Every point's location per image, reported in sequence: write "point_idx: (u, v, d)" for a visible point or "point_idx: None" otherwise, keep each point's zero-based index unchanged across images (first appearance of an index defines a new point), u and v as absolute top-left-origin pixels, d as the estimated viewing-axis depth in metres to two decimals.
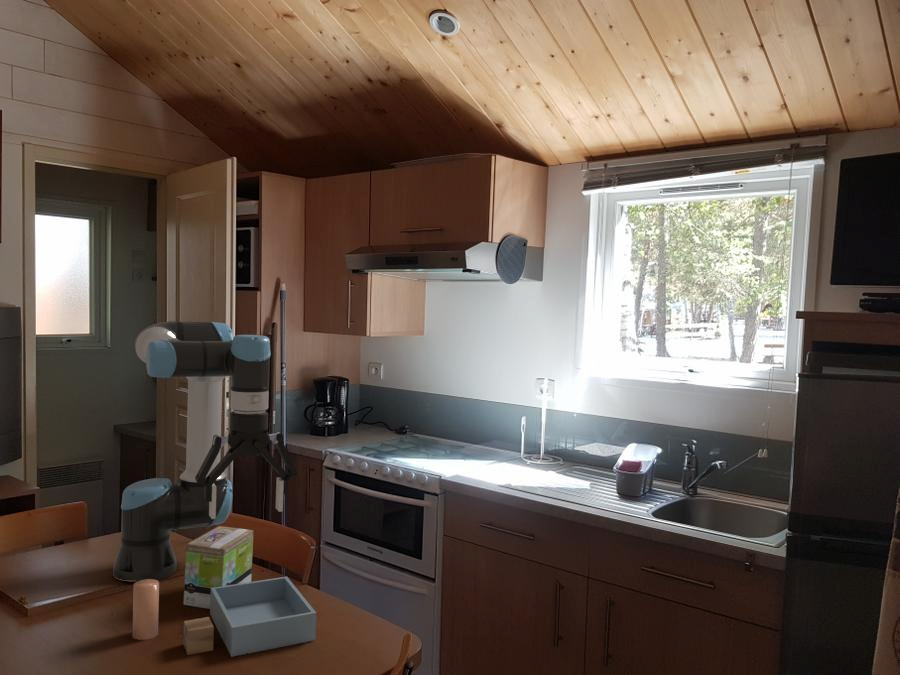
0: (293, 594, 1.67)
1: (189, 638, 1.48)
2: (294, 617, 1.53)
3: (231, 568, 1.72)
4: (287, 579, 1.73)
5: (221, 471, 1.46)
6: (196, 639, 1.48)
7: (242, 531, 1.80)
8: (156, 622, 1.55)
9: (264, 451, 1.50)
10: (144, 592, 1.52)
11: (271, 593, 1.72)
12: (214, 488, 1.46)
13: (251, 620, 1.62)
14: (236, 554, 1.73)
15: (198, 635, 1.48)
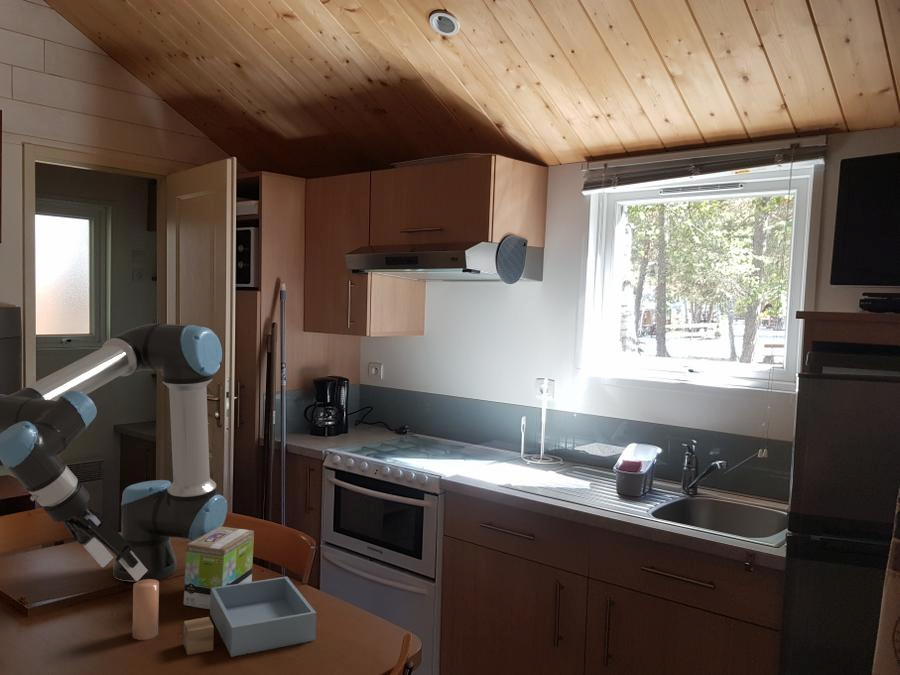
0: (293, 594, 1.67)
1: (189, 638, 1.47)
2: (294, 617, 1.53)
3: (232, 568, 1.71)
4: (287, 579, 1.73)
5: (78, 536, 1.47)
6: (196, 639, 1.48)
7: (243, 532, 1.79)
8: (156, 622, 1.55)
9: (86, 533, 1.40)
10: (144, 592, 1.52)
11: (271, 593, 1.72)
12: (84, 547, 1.49)
13: (251, 620, 1.62)
14: (236, 554, 1.73)
15: (198, 635, 1.48)
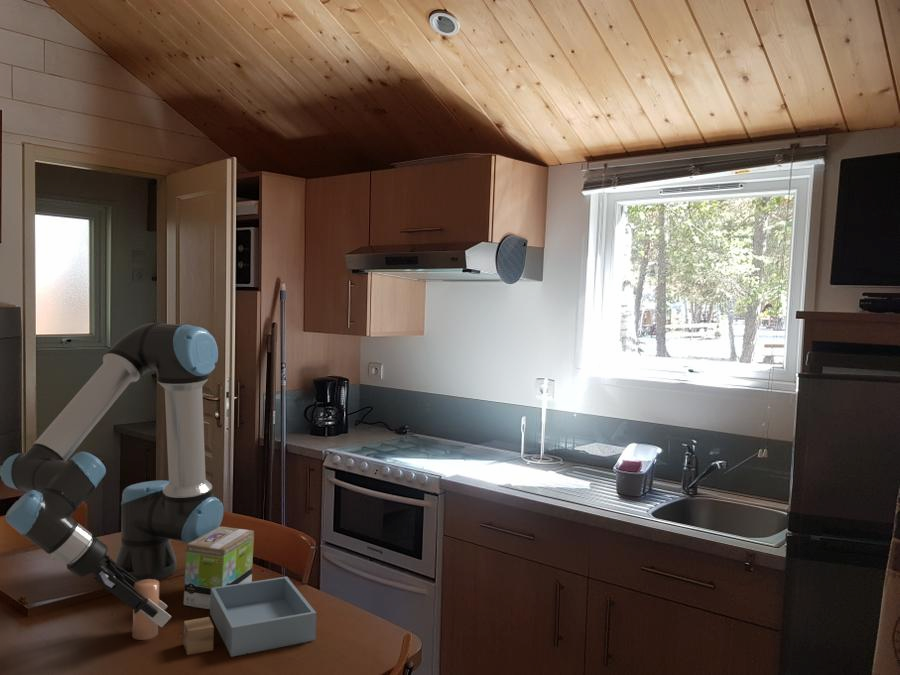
0: (293, 594, 1.67)
1: (189, 638, 1.48)
2: (294, 617, 1.53)
3: (232, 568, 1.71)
4: (287, 579, 1.73)
5: None
6: (196, 639, 1.48)
7: (243, 532, 1.79)
8: None
9: None
10: (145, 592, 1.52)
11: (271, 593, 1.72)
12: None
13: (251, 620, 1.62)
14: (236, 554, 1.73)
15: (198, 635, 1.48)
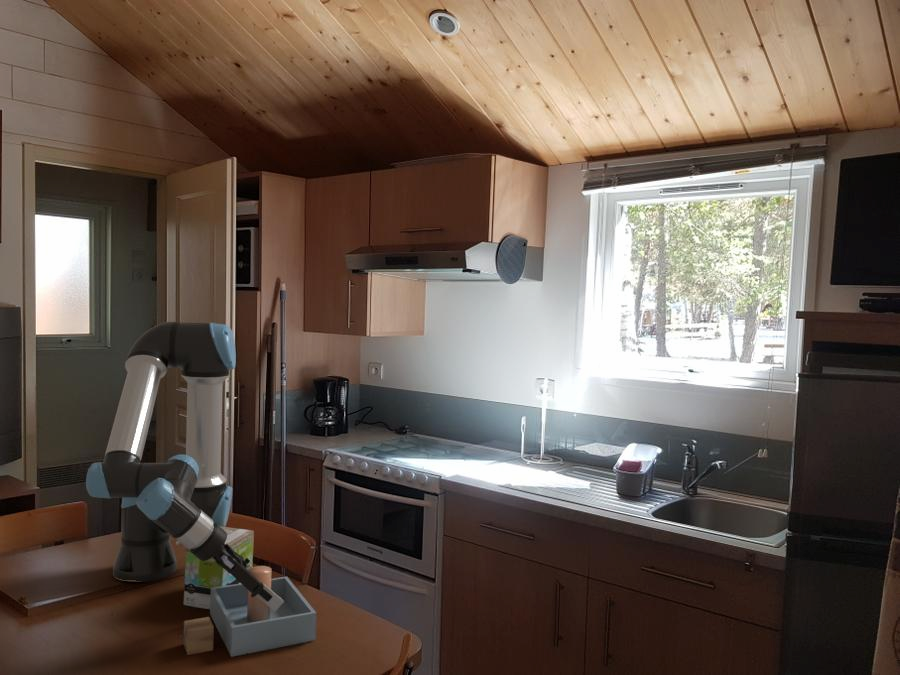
0: (293, 594, 1.67)
1: (189, 638, 1.48)
2: (294, 617, 1.53)
3: None
4: (287, 579, 1.73)
5: None
6: (196, 639, 1.48)
7: (242, 532, 1.79)
8: None
9: (226, 570, 1.56)
10: (260, 578, 1.60)
11: None
12: None
13: None
14: None
15: (198, 635, 1.48)
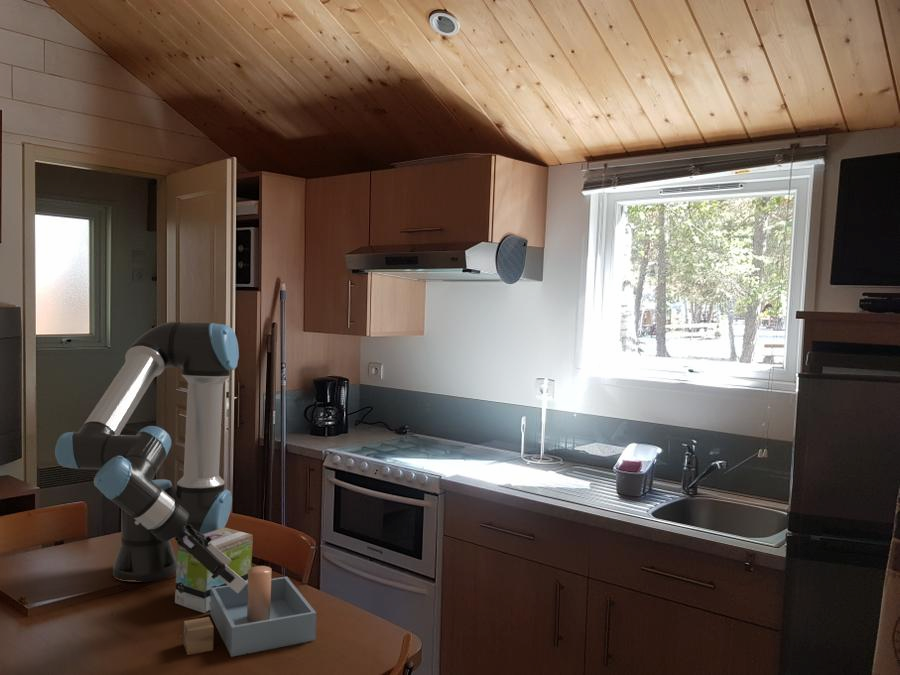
0: (293, 594, 1.67)
1: (189, 638, 1.48)
2: (294, 617, 1.53)
3: None
4: (287, 579, 1.73)
5: None
6: (196, 639, 1.48)
7: (240, 535, 1.77)
8: (269, 606, 1.62)
9: None
10: (260, 578, 1.60)
11: (271, 593, 1.72)
12: None
13: None
14: None
15: (198, 635, 1.48)
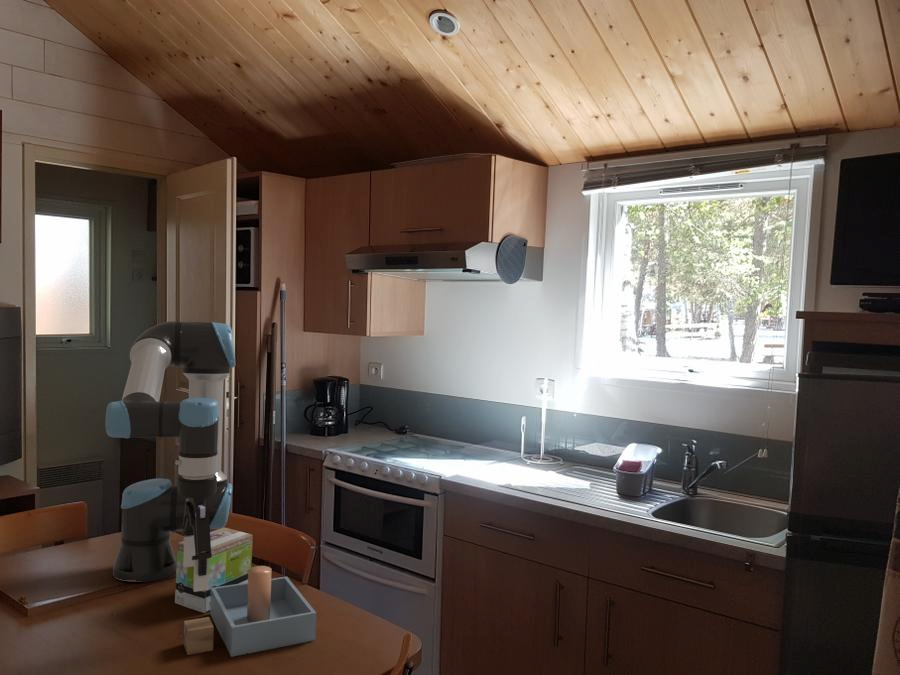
0: (293, 594, 1.67)
1: (189, 638, 1.48)
2: (294, 617, 1.53)
3: (220, 571, 1.69)
4: (287, 579, 1.73)
5: (186, 524, 1.53)
6: (196, 639, 1.48)
7: (240, 535, 1.77)
8: (269, 606, 1.62)
9: (190, 519, 1.46)
10: (260, 578, 1.60)
11: (271, 593, 1.72)
12: (184, 538, 1.55)
13: None
14: (226, 557, 1.71)
15: (198, 635, 1.48)
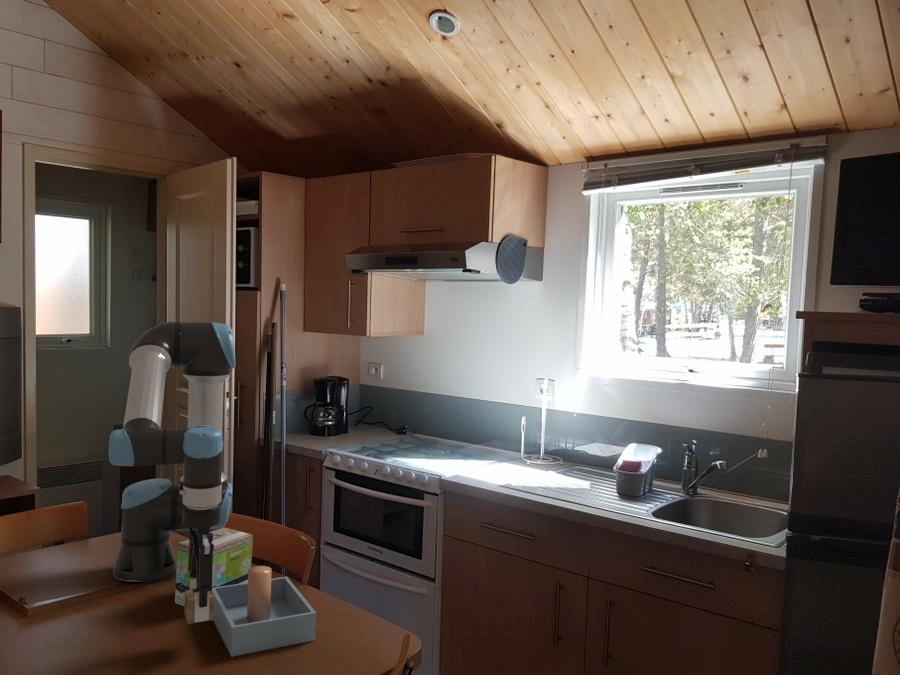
0: (293, 594, 1.67)
1: (189, 607, 1.48)
2: (294, 617, 1.53)
3: (220, 571, 1.69)
4: (287, 579, 1.73)
5: (191, 562, 1.52)
6: None
7: (240, 535, 1.77)
8: (269, 606, 1.62)
9: (193, 550, 1.47)
10: (260, 578, 1.60)
11: (271, 593, 1.72)
12: (190, 581, 1.52)
13: None
14: (227, 557, 1.71)
15: None
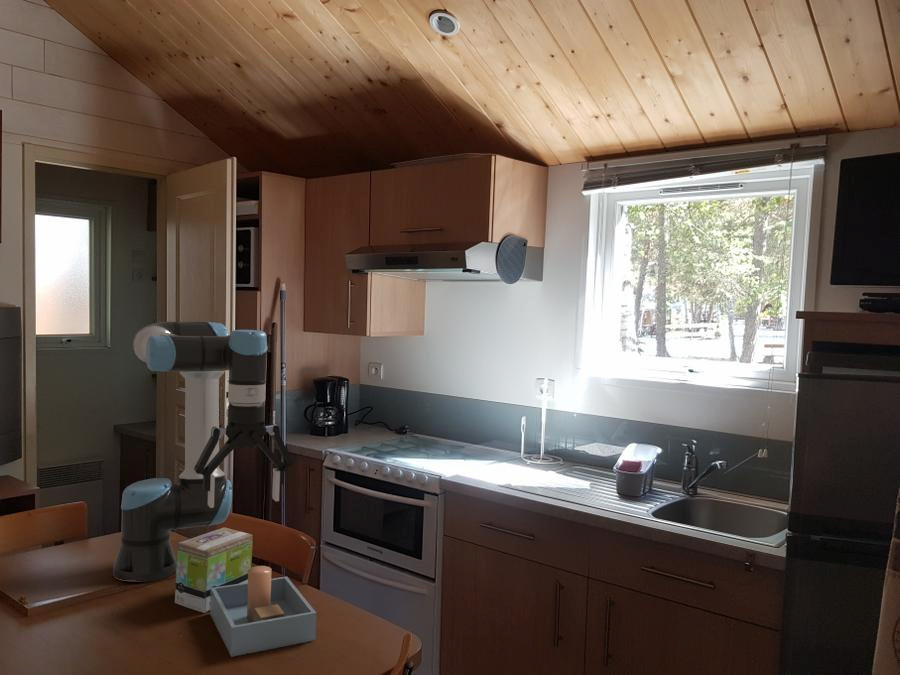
0: (293, 594, 1.67)
1: None
2: (294, 617, 1.53)
3: (220, 571, 1.69)
4: (287, 579, 1.73)
5: (219, 461, 1.51)
6: None
7: (240, 535, 1.77)
8: None
9: (261, 442, 1.55)
10: (260, 578, 1.60)
11: (271, 593, 1.72)
12: (212, 478, 1.51)
13: None
14: (226, 557, 1.71)
15: None
